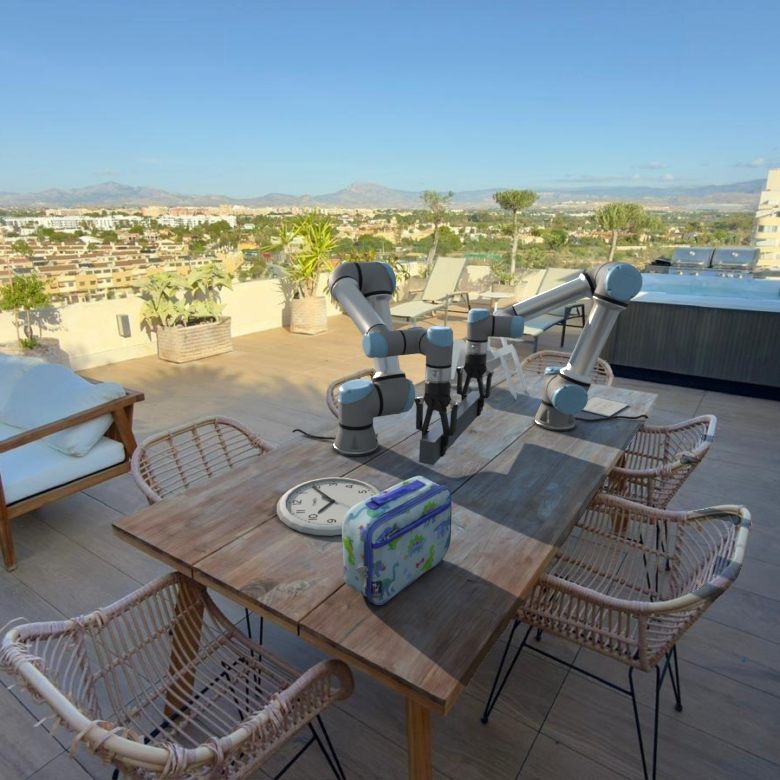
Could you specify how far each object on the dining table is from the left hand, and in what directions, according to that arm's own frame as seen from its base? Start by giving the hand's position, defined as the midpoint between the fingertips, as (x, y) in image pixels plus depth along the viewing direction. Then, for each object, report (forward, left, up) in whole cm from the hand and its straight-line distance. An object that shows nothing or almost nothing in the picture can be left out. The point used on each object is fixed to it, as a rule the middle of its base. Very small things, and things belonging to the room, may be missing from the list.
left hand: (434, 453), depth 159 cm
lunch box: (+25, -44, -7) cm, 51 cm away
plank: (-6, +19, 0) cm, 20 cm away
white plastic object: (-38, +82, -7) cm, 90 cm away
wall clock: (-8, -34, -7) cm, 36 cm away
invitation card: (+11, +103, -7) cm, 104 cm away
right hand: (-12, +38, 0) cm, 40 cm away
